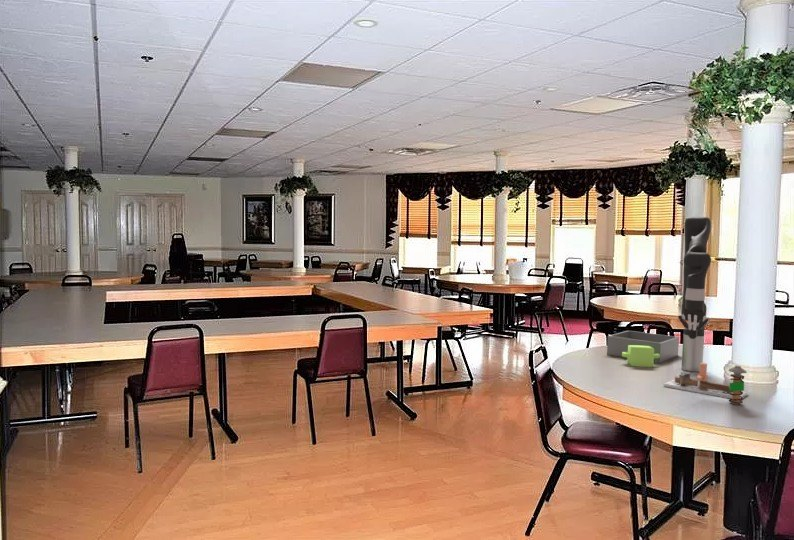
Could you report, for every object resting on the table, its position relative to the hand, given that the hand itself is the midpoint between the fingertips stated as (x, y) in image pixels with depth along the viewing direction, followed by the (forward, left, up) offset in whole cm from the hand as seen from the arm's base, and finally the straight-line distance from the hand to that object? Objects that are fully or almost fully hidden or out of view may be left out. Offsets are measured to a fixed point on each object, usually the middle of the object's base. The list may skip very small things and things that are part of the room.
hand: (692, 338), depth 275 cm
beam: (+2, +7, -20) cm, 21 cm away
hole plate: (+3, +7, -21) cm, 22 cm away
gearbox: (-29, -32, -21) cm, 48 cm away
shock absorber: (+16, +22, -21) cm, 34 cm away
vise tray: (-55, -41, -21) cm, 72 cm away
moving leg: (+2, +5, -19) cm, 20 cm away
